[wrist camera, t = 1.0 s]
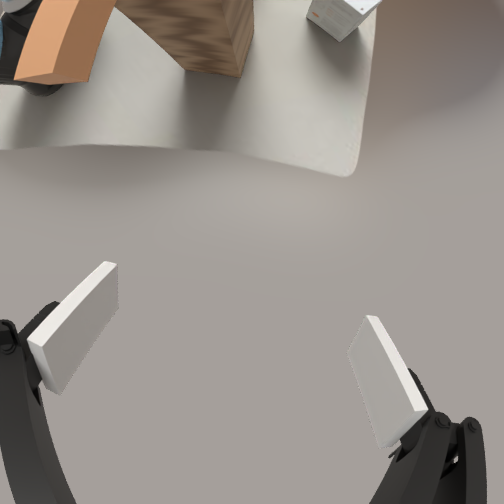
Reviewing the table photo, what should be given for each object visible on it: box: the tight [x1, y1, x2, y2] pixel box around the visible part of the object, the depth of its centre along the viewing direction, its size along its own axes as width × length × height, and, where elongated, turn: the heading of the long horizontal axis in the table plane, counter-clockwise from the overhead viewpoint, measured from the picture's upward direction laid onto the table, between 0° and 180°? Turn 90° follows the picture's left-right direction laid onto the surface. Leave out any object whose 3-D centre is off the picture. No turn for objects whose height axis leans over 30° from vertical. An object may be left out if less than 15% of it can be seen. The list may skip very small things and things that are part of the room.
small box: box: [306, 0, 382, 42], centre depth 29 cm, size 8×6×13 cm
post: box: [114, 0, 254, 78], centre depth 21 cm, size 10×10×37 cm
